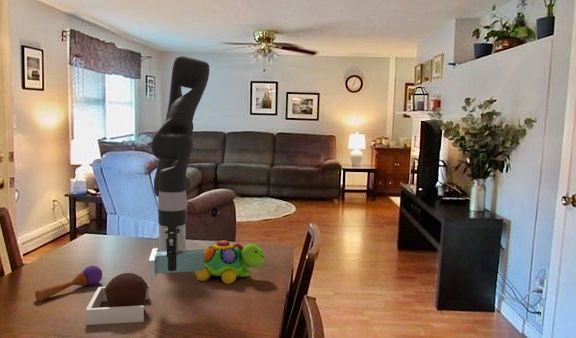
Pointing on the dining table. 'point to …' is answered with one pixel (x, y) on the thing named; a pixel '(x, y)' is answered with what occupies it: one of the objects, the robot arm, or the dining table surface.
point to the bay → (112, 311)
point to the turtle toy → (229, 260)
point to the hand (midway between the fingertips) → (172, 267)
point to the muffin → (126, 290)
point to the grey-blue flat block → (184, 261)
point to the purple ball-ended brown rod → (72, 282)
